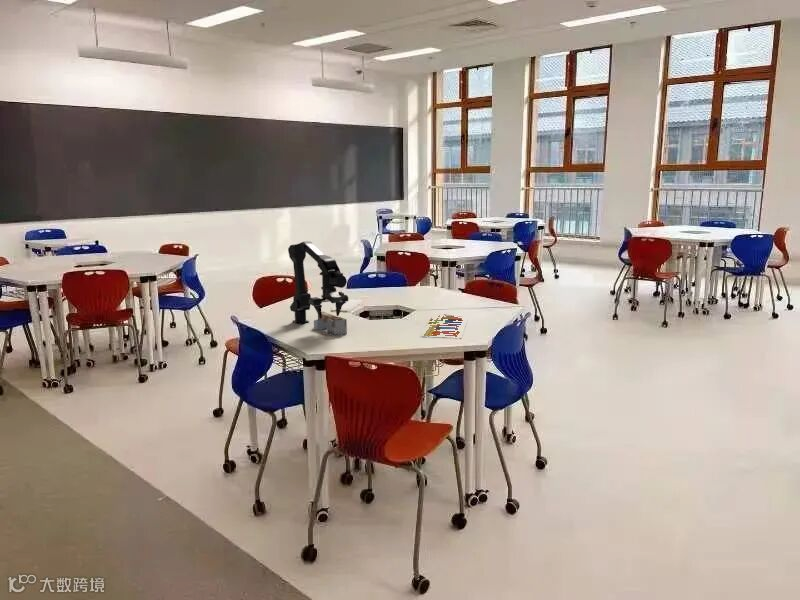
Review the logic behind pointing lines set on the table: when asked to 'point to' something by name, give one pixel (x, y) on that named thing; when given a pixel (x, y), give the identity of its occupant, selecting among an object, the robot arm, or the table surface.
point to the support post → (319, 324)
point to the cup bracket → (337, 326)
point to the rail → (328, 317)
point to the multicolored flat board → (450, 320)
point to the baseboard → (348, 305)
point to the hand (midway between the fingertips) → (329, 317)
